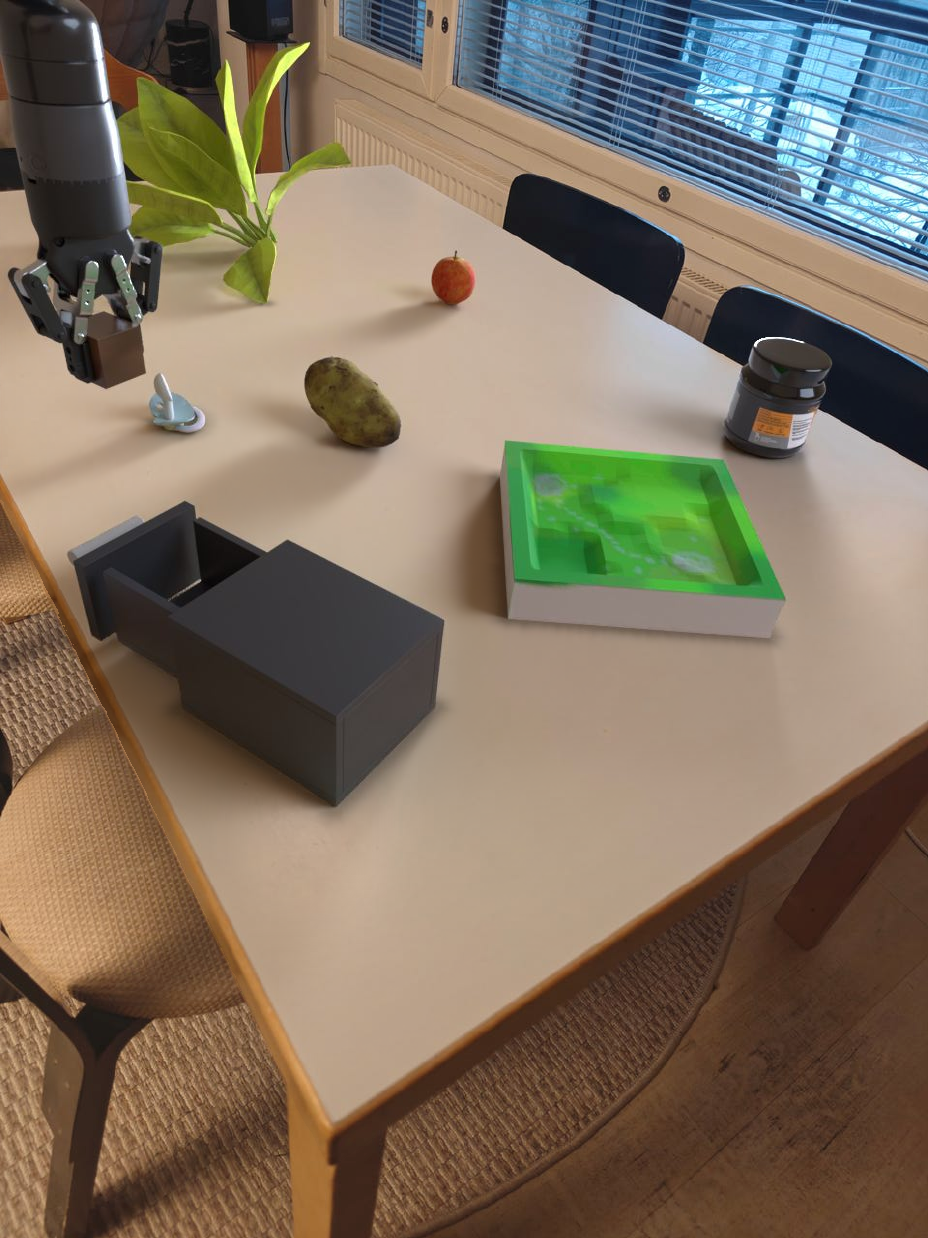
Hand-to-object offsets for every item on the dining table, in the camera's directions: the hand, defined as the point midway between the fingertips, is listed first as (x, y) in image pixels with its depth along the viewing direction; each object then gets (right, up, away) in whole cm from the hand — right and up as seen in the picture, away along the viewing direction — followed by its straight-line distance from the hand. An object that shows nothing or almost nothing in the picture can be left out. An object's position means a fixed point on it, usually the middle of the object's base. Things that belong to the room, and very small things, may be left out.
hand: (108, 370), depth 77 cm
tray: (+49, -16, +13) cm, 53 cm away
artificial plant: (-8, +37, +65) cm, 75 cm away
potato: (+18, 0, +26) cm, 32 cm away
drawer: (+8, -23, -4) cm, 25 cm away
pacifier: (-1, 0, +24) cm, 24 cm away
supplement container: (+71, +1, +35) cm, 79 cm away
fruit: (+30, +28, +61) cm, 73 cm away
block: (0, 0, 0) cm, 0 cm away
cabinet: (+20, -30, -8) cm, 37 cm away
